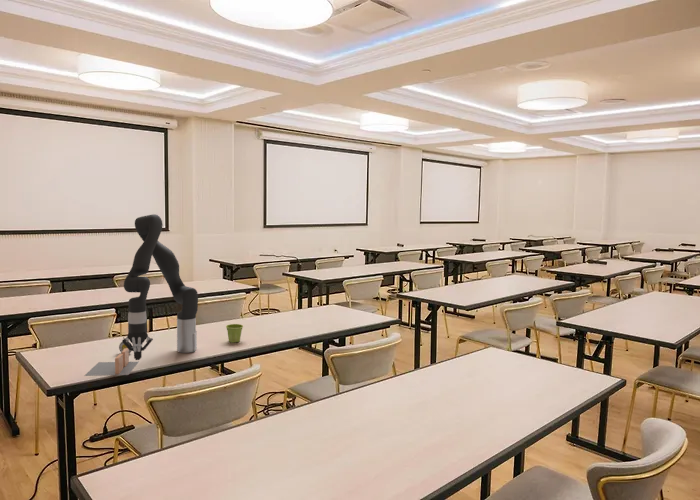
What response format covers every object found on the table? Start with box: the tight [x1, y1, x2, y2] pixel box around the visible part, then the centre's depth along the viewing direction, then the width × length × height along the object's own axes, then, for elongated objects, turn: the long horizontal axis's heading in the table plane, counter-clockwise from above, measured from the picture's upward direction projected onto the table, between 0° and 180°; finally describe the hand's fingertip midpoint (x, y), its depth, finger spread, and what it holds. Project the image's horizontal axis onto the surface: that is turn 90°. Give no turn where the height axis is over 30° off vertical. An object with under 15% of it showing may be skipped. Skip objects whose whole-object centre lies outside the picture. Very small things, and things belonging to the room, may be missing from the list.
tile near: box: [114, 353, 123, 374], centre depth 222 cm, size 2×6×7 cm, turn 9°
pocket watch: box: [118, 335, 133, 354], centre depth 244 cm, size 8×8×10 cm
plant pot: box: [225, 323, 244, 344], centre depth 278 cm, size 9×9×9 cm
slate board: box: [84, 361, 140, 377], centre depth 226 cm, size 18×18×1 cm
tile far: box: [120, 348, 130, 367], centre depth 230 cm, size 2×6×7 cm, turn 9°
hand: (137, 359), depth 223 cm, fingers closed
